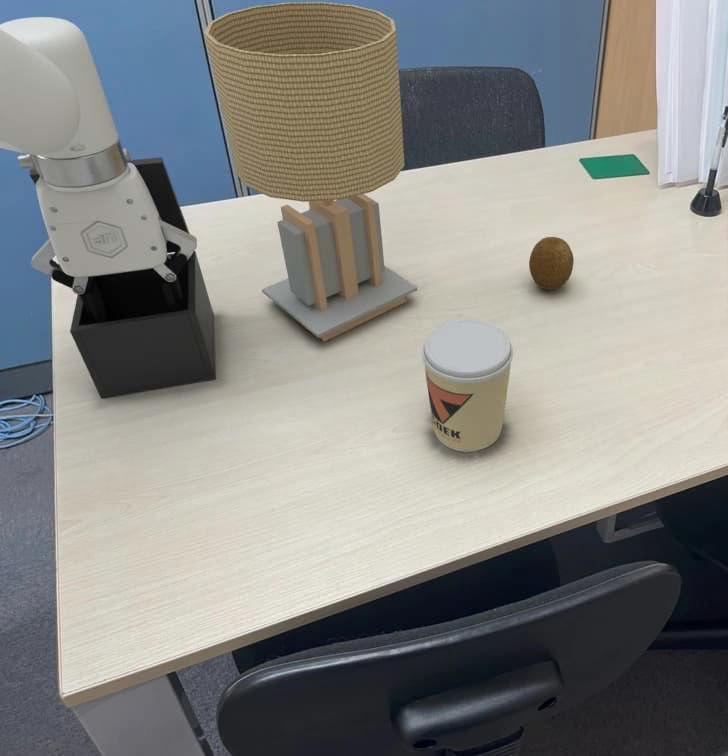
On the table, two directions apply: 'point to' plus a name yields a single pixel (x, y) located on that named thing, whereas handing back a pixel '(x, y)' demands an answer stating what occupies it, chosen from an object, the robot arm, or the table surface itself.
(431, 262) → the table surface
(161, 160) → the lid
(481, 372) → the coffee cup
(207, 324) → the dark grey hollow box
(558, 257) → the fruit
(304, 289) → the desk lamp
